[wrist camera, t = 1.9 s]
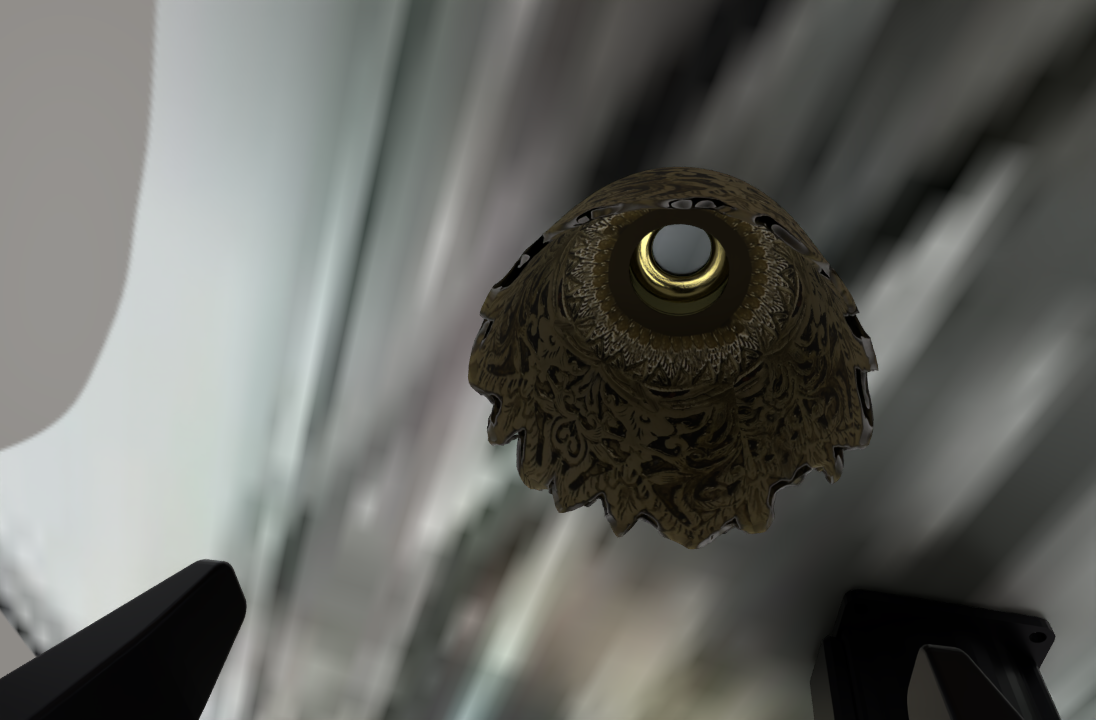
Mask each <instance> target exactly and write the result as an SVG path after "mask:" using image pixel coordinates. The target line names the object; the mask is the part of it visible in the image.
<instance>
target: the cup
mask: <svg viewBox="0 0 1096 720" xmlns="http://www.w3.org/2000/svg"><path fill="white" fill-rule="evenodd" d="M674 224H685V225H691V226H695V227H698V228H700V229H703V230H704V231H705V232H706V233H707V235H708V237H709V239H710V242H711V255H710V258H709V260H708V262H707V264H706V265H705V266H704V267H703V268H702V269H701V270H700V271H698V272H697V273H695V274H692V275H689V276H674V275H671V274H668V273H666V272H665V271H663V270H662V269H661V268H660V267H659V266H658V265H657V263H656V262H655V260H654V257H653V253H652V245H653V241H654V238H655V236H656V235H657V233H658V232H659V231H660V230H661V229H662V228H663V227H665V226H668V225H674ZM857 313H859V311H858V309H857V307H856V304H855V302H854V300H853V298H852V296H851V294H850V292H849V291H848V289H847V288H846V286H845V285H844V283H843V282H842V280H841V279H840V277H839V276H838V274H837V273H836V271H835V270H834V269H833V268H831V267H830V264H829V263H828V262H827V261H826V260H825V258H824V257H823V255H822V254H821V253H820V251H819V250H818V249H817V247H816V246H815V245H814V243H813V242H812V241H811V239H810V238H809V237H808V236H807V234H806V233H805V232H804V231H803V230H802V228H801V227H800V226H799V225H798V224H797V222H796V221H795V220H794V219H793V218H792V217H791V216H790V215H789V214H788V213H787V212H786V211H785V210H784V209H783V208H782V207H781V206H780V205H779V204H778V203H776V202H775V201H774V200H772V199H771V198H770V197H768V196H767V195H765V194H764V193H763V192H761V191H760V190H759V189H757V188H755V187H753V186H751V185H750V184H748V183H746V182H744V181H742V180H739V179H737V178H735V177H732V176H730V175H727V174H723V173H720V172H716V171H713V170H707V169H701V168H692V167H667V168H658V169H652V170H646V171H643V172H639V173H636V174H632V175H629V176H627V177H625V178H622V179H620V180H617V181H615V182H613V183H611V184H609V185H607V186H605V187H603V188H602V189H600V190H598V191H596V192H595V193H593V194H592V195H590V196H589V197H588V198H586V199H585V200H583V201H582V202H581V203H579V204H578V205H576V206H575V207H574V208H573V209H572V210H570V211H569V212H568V213H567V214H566V215H564V216H563V217H562V218H561V219H560V220H559V221H558V222H556V223H555V224H554V225H553V226H552V227H551V228H550V229H549V230H547V231H546V232H545V233H543V235H542V236H541V237H540V238H539V239H538V240H537V241H536V242H534V243H533V244H532V245H531V246H530V247H529V248H527V249H526V250H525V251H524V253H523V254H522V255H521V257H520V258H519V260H518V261H517V262H516V263H515V264H514V266H513V267H512V269H511V270H510V271H509V272H508V273H507V275H506V276H505V277H504V278H503V279H502V280H501V281H499V282H498V283H497V284H495V285H494V286H493V287H492V289H491V291H490V292H489V294H488V296H487V298H486V300H485V302H484V304H483V306H482V308H481V311H480V316H481V317H482V318H484V321H483V323H482V326H481V328H480V330H479V332H478V335H477V337H476V339H475V341H474V344H473V348H472V352H471V356H470V362H469V372H468V380H469V384H470V385H471V387H472V388H473V389H474V390H475V391H476V392H478V393H479V394H480V395H484V396H485V397H486V398H487V399H488V400H489V401H490V402H491V403H492V404H493V408H492V412H491V414H490V416H489V418H488V426H487V433H488V441H489V442H490V444H491V445H493V446H494V445H504V444H508V443H510V442H511V440H515V439H517V438H518V443H517V470H518V472H519V475H520V477H521V479H522V481H523V483H524V484H525V485H526V486H528V487H529V488H530V489H536V490H539V491H542V490H543V489H549V493H550V494H553V498H554V502H555V506H556V508H557V510H558V512H559V513H565V512H569V511H573V510H575V509H577V508H580V507H582V506H586V507H589V506H591V505H592V504H593V503H594V502H596V501H597V500H596V499H601V500H602V505H603V507H604V511H605V517H606V519H607V520H608V522H609V523H610V525H611V528H612V530H613V532H614V533H615V535H616V536H617V537H622V536H623V535H625V534H626V533H627V532H628V531H629V530H630V529H631V528H632V527H633V526H634V524H635V523H636V522H637V521H639V520H643V521H645V522H647V523H650V524H651V525H653V526H654V527H655V528H657V530H658V532H659V534H660V535H661V536H663V537H666V538H668V539H670V540H673V541H675V542H677V543H679V544H681V545H683V546H685V547H686V548H688V549H698V548H701V547H703V546H705V545H707V544H709V543H710V542H711V541H713V540H714V539H715V538H717V537H718V536H720V535H721V534H725V533H727V532H728V531H729V530H731V529H733V528H735V527H736V528H738V529H740V530H743V532H745V533H746V534H755V533H762V532H765V531H766V530H767V529H768V528H769V527H770V525H771V524H772V522H773V520H774V518H775V514H774V508H773V506H774V502H775V497H776V493H777V492H778V491H780V490H781V489H783V488H785V487H786V486H799V485H800V484H801V483H802V482H803V480H804V479H805V477H806V475H807V474H808V473H810V472H811V470H813V469H815V470H817V471H818V472H821V471H822V472H823V473H824V474H825V476H826V479H827V481H828V482H829V483H831V484H833V483H835V482H836V481H838V479H839V478H840V476H841V474H842V471H843V466H844V459H843V458H844V457H843V450H844V451H845V450H854V449H861V450H862V449H864V448H866V447H867V446H868V445H869V443H870V439H871V436H872V432H873V421H874V419H873V411H872V404H871V398H870V394H869V390H868V381H867V372H870V371H874V370H877V371H878V364H877V359H876V355H875V352H874V349H873V345H872V342H871V338H870V337H869V336H868V335H867V333H866V332H865V331H864V329H863V328H862V326H861V324H860V322H859V320H858V318H857V317H856V314H857ZM517 432H518V435H514V434H515V433H517ZM513 435H514V436H513Z"/></svg>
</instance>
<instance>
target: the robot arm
mask: <svg viewBox="0 0 1096 720" xmlns="http://www.w3.org/2000/svg"><path fill="white" fill-rule="evenodd" d="M856 604H862V605H856ZM246 607H247V605H246V599H245V597H244V594H243V592H242V589H241V587H240V584H239V582H238V579H237V577H236V574H235V572H234V569H233V567H232V566H231V565H230V564H229V563H228V562H225V561H217V560H209V559H203V560H199V561H196V562H195V563H193V564H191V565H189V566H188V567H186V568H184V569H183V570H181V571H179V572H178V573H176V574H174V575H173V576H171V577H169V578H168V579H166V580H164V581H163V582H161V583H159V584H158V585H156V586H154V587H153V588H151V589H149V590H148V591H146V592H144V593H143V594H141V595H139V596H138V597H136V598H134V599H133V600H131V601H129V602H128V603H126V604H124V605H123V606H121V607H119V608H118V609H116V610H114V611H113V612H111V613H109V614H107V615H106V616H104V617H102V618H101V619H99V620H97V621H96V622H94V623H92V624H91V625H89V626H87V627H86V628H84V629H82V630H81V631H79V632H77V633H76V634H74V635H72V636H71V637H69V638H67V639H66V640H64V641H62V642H61V643H59V644H57V645H56V646H54V647H52V648H51V649H49V650H47V651H46V652H44V653H42V654H41V655H39V656H37V657H36V658H34V659H32V660H31V661H29V662H27V663H26V664H24V665H22V666H21V667H19V668H17V669H16V670H14V671H12V672H11V673H9V674H7V675H6V676H4V677H2V678H1V679H0V720H199V718H200V716H201V714H202V712H203V710H204V708H205V706H206V703H207V701H208V699H209V697H210V694H211V692H212V690H213V688H214V685H215V683H216V681H217V679H218V677H219V674H220V672H221V670H222V668H223V665H224V663H225V661H226V659H227V656H228V654H229V652H230V650H231V648H232V645H233V643H234V641H235V639H236V636H237V634H238V632H239V630H240V627H241V625H242V623H243V621H244V618H245V614H246ZM1035 632H1036V633H1035ZM1054 640H1055V634H1054V632H1053V630H1052V628H1051V626H1050V624H1049V622H1048V621H1046V620H1045V619H1042V618H1039V617H1033V616H1027V615H1020V614H1014V613H1007V612H1001V611H994V610H988V609H982V608H975V607H969V606H962V605H956V604H950V603H943V602H937V601H930V600H924V599H917V598H911V597H905V596H898V595H892V594H885V593H879V592H873V591H866V590H852V591H849V592H848V593H846V594H845V596H844V597H843V601H842V604H841V607H840V610H839V614H838V617H837V620H836V624H835V627H834V630H833V633H832V636H830V635H828V636H827V637H826V638H824V639H823V640H822V643H821V646H820V649H819V653H818V656H817V660H816V663H815V666H814V670H813V673H812V677H811V680H810V687H811V695H812V704H813V712H814V720H1061V718H1060V716H1059V713H1058V711H1057V709H1056V707H1055V704H1054V702H1053V700H1052V698H1051V695H1050V693H1049V691H1048V689H1047V686H1046V684H1045V682H1044V680H1043V677H1042V675H1041V673H1040V671H1039V668H1040V666H1041V664H1042V662H1043V661H1044V659H1045V657H1046V655H1047V653H1048V651H1049V650H1050V648H1051V646H1052V644H1053V642H1054Z"/></svg>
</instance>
